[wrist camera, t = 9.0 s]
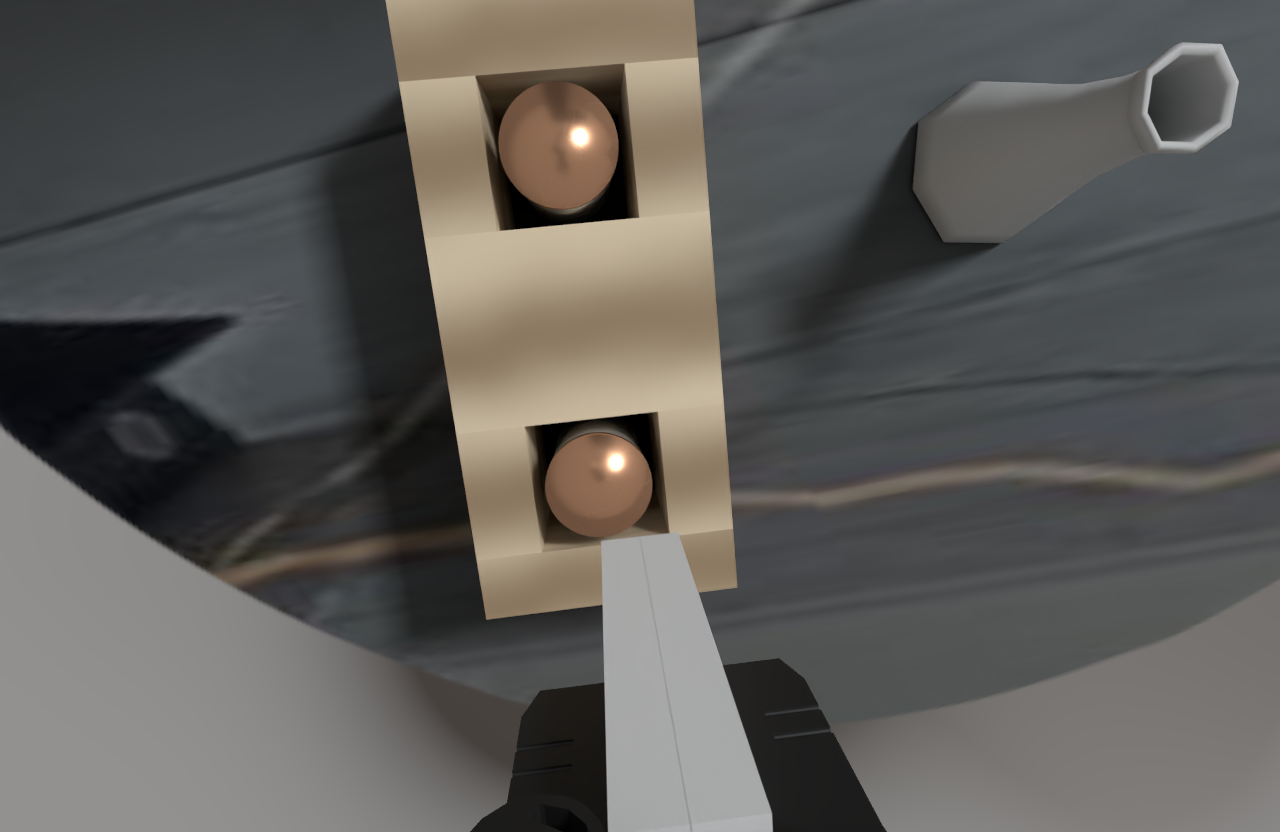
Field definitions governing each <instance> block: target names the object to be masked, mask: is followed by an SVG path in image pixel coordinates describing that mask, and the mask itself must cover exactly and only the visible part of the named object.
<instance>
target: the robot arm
mask: <svg viewBox="0 0 1280 832" xmlns="http://www.w3.org/2000/svg"><path fill="white" fill-rule="evenodd" d="M601 556H602V598H603V640H604V683H599V684H591V685H583V686H575V687H567V688H559V689H551V690H543V691H540V692H539V693H538V695H537V696H536V697H535V699H534V700H533V702H532V703H531V704H530V706H529V707H528V709H527V710H526V712H525V713H524V714H523V716H522V718H521V724H520V730H519V735H518V741H517V752H516V753H515V759H514V766H513V771H512V773H513V777H512V778H511V783H510V789H509V794H508V800H507V803H506V804H505V805H503V806H502V807H500V808H499V809H497V810H495V811H494V812H492V813H490V814H489V815H488V816H486V817H484V818H482V819H481V820H480V822H479V823H478V824H477V825H476V826H475V827H474V828H473V829H472V831H470V832H887V831H886V830H885V828H884V827H883V826H882V824H881V822H880V820H879V818H878V816H877V814H876V812H875V811H874V809H873V807H872V805H871V803H870V801H869V799H868V798H867V796H866V794H865V792H864V790H863V788H862V786H861V784H860V782H859V780H858V779H857V777H856V775H855V773H854V771H853V769H852V768H851V765H850V764H849V762H848V760H847V758H846V756H845V754H844V752H843V750H842V749H841V747H840V745H839V743H838V741H837V739H836V737H835V735H834V733H831V730H830V726H829V724H828V722H827V720H826V718H825V716H824V715H823V713H822V711H821V710H819V707H818V703H817V701H816V700H815V698H814V696H813V694H812V692H811V690H810V688H809V686H808V684H807V683H806V681H805V679H804V678H803V677H802V676H801V675H799V674H798V673H797V672H796V671H794V670H793V669H792V668H790V667H789V666H788V665H787V664H785V663H784V662H783V661H782V660H780V659H779V658H778V659H770V660H762V661H754V662H746V663H738V664H730V665H722V662H721V659H720V656H719V653H718V650H717V647H716V644H715V641H714V638H713V635H712V632H711V629H710V626H709V623H708V621H707V618H706V615H705V612H704V609H703V606H702V603H701V600H700V597H699V594H698V591H697V588H696V585H695V582H694V579H693V576H692V573H691V570H690V567H689V564H688V561H687V558H686V555H685V552H684V549H683V546H682V543H681V540H680V537H679V534H678V532H676V533H667V534H658V535H649V536H640V537H632V538H623V539H614V540H605V541H601Z"/></svg>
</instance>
